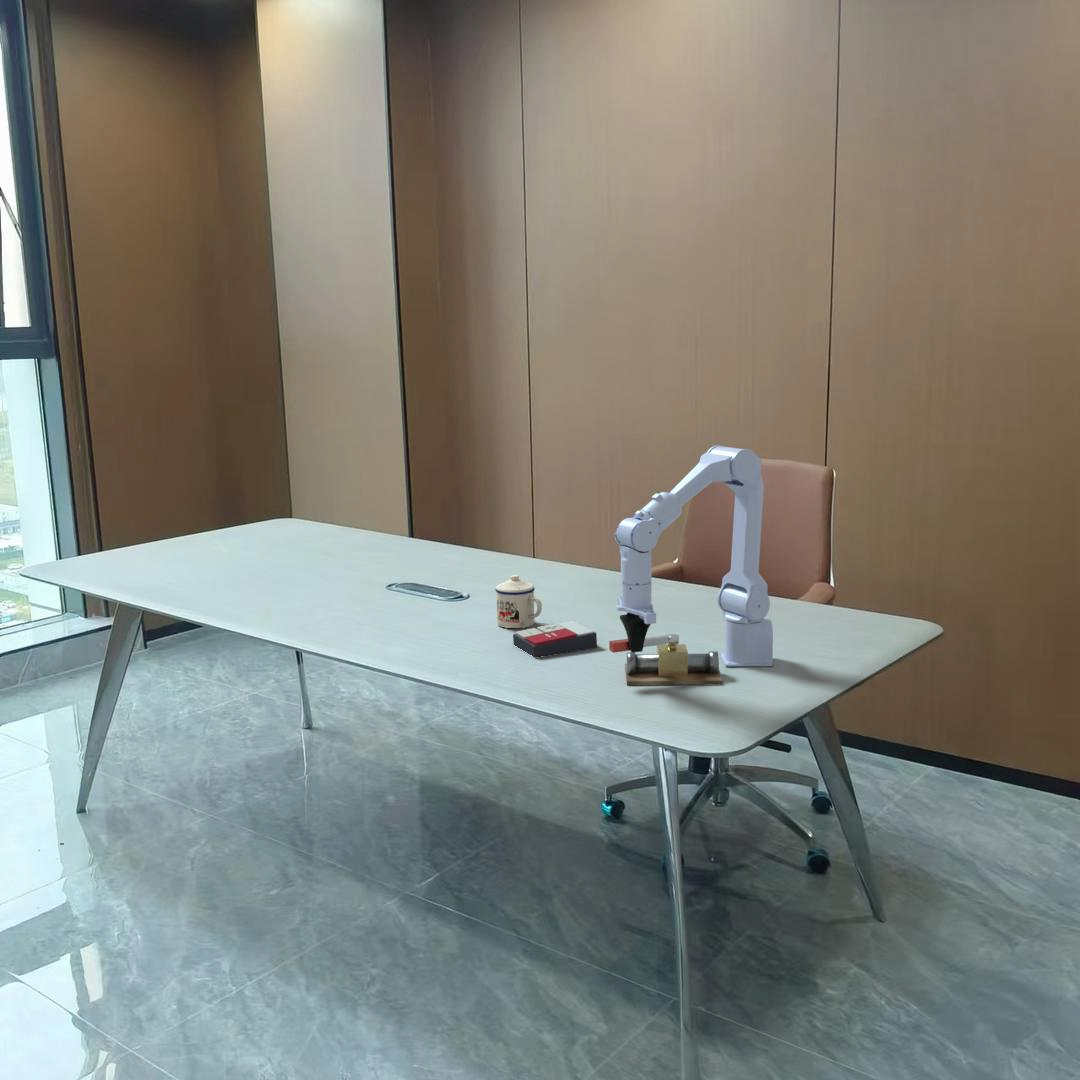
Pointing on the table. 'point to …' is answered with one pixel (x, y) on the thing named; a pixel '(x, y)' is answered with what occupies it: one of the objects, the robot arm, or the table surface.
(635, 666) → the valve
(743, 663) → the robot arm
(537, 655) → the calculator
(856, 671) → the table surface
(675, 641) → the lever
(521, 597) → the teacup with lid
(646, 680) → the board
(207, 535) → the table surface
